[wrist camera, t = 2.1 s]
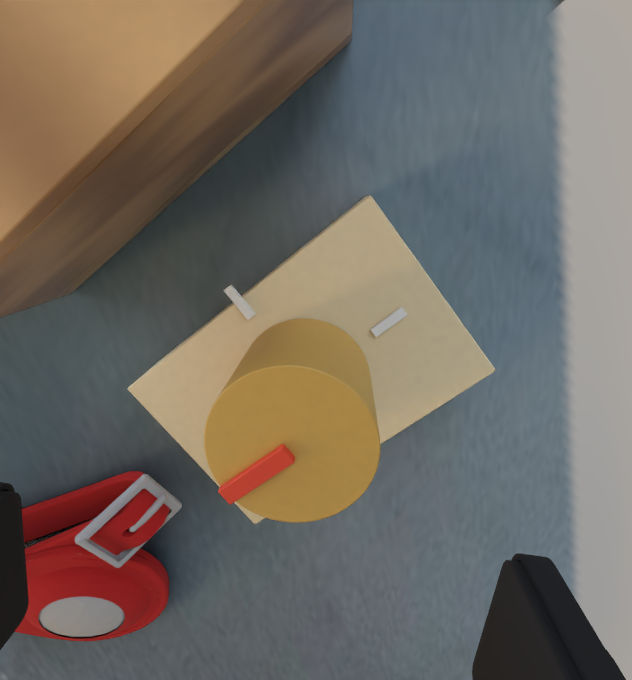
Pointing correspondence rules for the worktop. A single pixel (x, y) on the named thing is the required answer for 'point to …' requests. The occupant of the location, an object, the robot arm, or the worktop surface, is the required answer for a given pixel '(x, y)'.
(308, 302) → the lock plate
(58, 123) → the hinged box cover
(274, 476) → the lock knob
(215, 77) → the chest
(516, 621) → the robot arm
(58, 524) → the tracker holder
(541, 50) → the worktop surface
